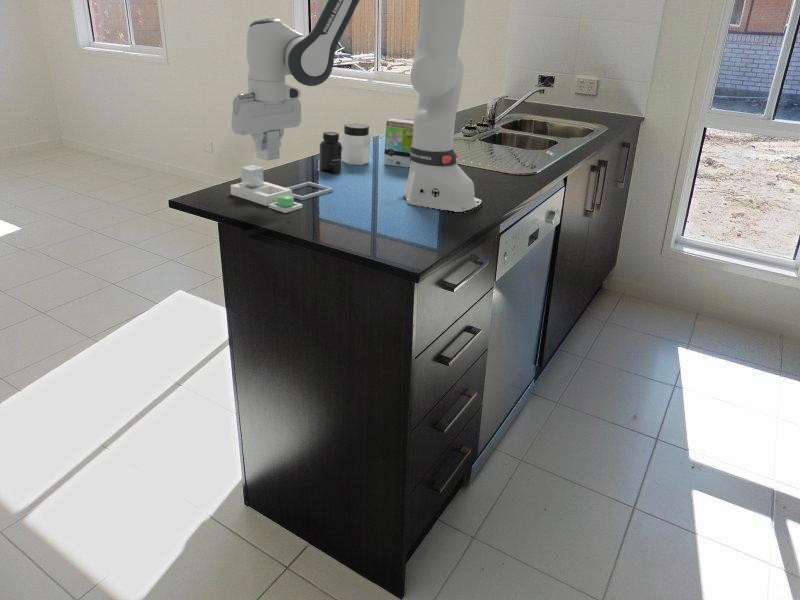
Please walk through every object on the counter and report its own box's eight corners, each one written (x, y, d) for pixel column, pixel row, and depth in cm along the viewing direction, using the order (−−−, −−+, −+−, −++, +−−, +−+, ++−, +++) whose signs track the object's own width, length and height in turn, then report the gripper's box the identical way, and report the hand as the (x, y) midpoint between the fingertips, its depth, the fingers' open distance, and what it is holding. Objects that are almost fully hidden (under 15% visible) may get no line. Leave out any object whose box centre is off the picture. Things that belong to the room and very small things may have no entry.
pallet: (292, 202, 166) (291, 189, 164) (266, 210, 159) (266, 196, 158) (257, 192, 173) (256, 179, 171) (231, 198, 166) (230, 185, 165)
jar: (368, 159, 214) (369, 123, 209) (369, 165, 207) (371, 128, 202) (342, 158, 213) (342, 122, 208) (342, 164, 206) (343, 127, 201)
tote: (333, 195, 174) (333, 188, 173) (302, 204, 165) (302, 197, 164) (309, 188, 179) (309, 181, 178) (277, 197, 170) (277, 189, 169)
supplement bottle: (337, 175, 193) (338, 136, 188) (316, 173, 194) (316, 134, 189) (343, 170, 199) (344, 132, 194) (323, 168, 200) (323, 130, 195)
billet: (279, 158, 160) (279, 130, 157) (267, 160, 157) (267, 132, 154) (268, 155, 162) (267, 127, 159) (256, 157, 159) (255, 129, 156)
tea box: (383, 165, 208) (385, 120, 202) (390, 159, 217) (393, 115, 211) (427, 171, 205) (431, 125, 199) (433, 164, 214) (437, 119, 208)
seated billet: (263, 193, 168) (263, 167, 165) (252, 196, 165) (251, 170, 162) (253, 190, 170) (252, 164, 167) (241, 193, 167) (240, 167, 164)
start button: (297, 209, 159) (296, 198, 158) (285, 212, 156) (285, 201, 155) (285, 205, 161) (285, 194, 160) (274, 209, 158) (274, 197, 157)
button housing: (302, 212, 160) (302, 204, 159) (285, 217, 155) (285, 209, 154) (285, 206, 163) (285, 199, 162) (268, 211, 158) (268, 204, 157)
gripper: (242, 96, 143) (244, 157, 149) (305, 90, 158) (305, 145, 164) (224, 92, 146) (227, 152, 152) (287, 86, 161) (288, 141, 167)
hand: (268, 148), depth 158 cm, fingers closed on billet, 4 cm apart
